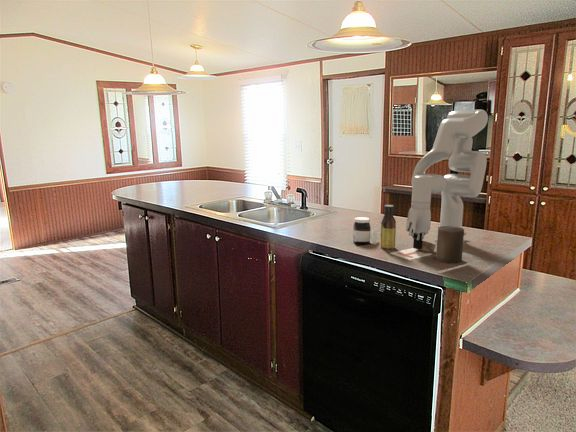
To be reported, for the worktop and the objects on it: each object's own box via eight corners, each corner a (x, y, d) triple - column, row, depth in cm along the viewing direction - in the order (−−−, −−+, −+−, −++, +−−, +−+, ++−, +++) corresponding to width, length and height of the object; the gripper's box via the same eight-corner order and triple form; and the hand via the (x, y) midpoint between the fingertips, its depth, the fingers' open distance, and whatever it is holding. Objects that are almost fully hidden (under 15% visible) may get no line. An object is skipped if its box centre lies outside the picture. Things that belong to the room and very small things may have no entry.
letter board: (412, 249, 183) (412, 248, 183) (432, 256, 174) (432, 254, 173) (389, 254, 176) (389, 253, 175) (409, 261, 166) (409, 259, 166)
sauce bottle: (384, 246, 188) (386, 203, 183) (397, 249, 184) (399, 204, 180) (377, 250, 183) (379, 205, 178) (390, 252, 179) (392, 207, 175)
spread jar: (351, 240, 199) (352, 216, 197) (375, 239, 199) (376, 216, 197) (355, 247, 188) (356, 221, 185) (380, 247, 188) (381, 221, 185)
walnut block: (421, 250, 182) (424, 241, 182) (433, 253, 177) (435, 244, 177) (413, 247, 179) (415, 238, 179) (424, 251, 174) (427, 241, 174)
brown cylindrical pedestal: (461, 266, 160) (464, 228, 157) (434, 263, 164) (437, 226, 161) (461, 259, 169) (464, 223, 166) (436, 256, 173) (439, 221, 170)
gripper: (425, 202, 179) (422, 244, 183) (400, 205, 172) (397, 248, 175) (440, 205, 173) (436, 248, 176) (415, 208, 165) (411, 252, 169)
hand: (417, 248), depth 176 cm, fingers closed
